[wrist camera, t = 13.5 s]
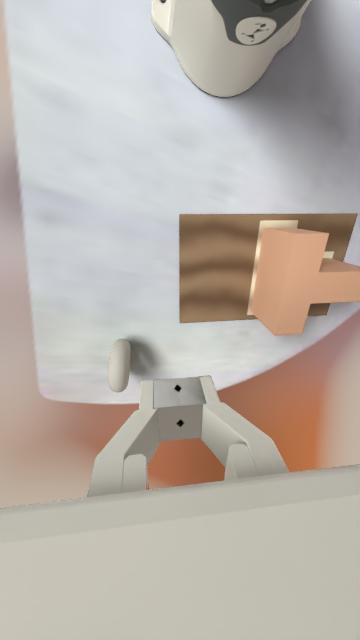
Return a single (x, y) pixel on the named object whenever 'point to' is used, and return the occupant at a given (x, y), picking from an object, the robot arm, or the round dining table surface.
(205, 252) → the board
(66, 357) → the round dining table surface
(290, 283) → the t block
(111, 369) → the donut
